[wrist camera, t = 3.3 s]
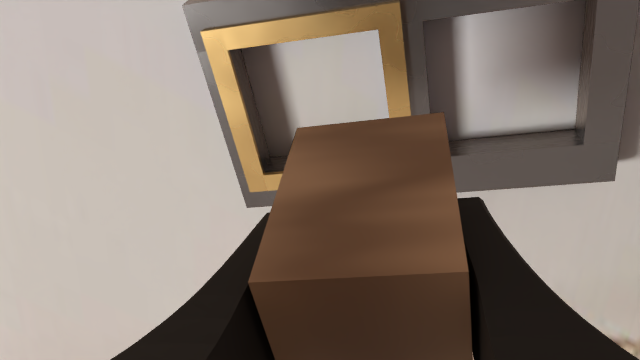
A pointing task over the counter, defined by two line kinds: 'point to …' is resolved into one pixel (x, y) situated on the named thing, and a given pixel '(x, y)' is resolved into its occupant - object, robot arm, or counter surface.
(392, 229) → the brown wooden block
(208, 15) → the grey slotted tray
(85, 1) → the counter surface
